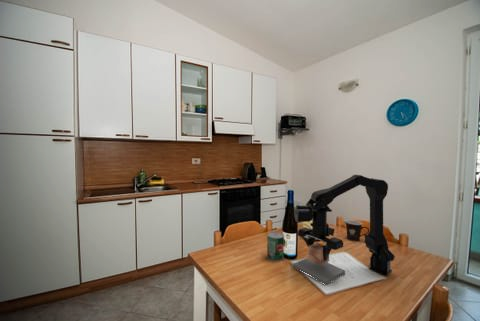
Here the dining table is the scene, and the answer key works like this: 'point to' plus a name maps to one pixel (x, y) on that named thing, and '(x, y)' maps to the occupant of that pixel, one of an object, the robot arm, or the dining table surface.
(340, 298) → the dining table surface
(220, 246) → the dining table surface
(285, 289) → the dining table surface
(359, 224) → the coffee mug
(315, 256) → the terracotta cube
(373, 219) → the robot arm
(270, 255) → the canned tomato
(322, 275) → the charcoal board
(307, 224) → the pale yellow rounded lump
